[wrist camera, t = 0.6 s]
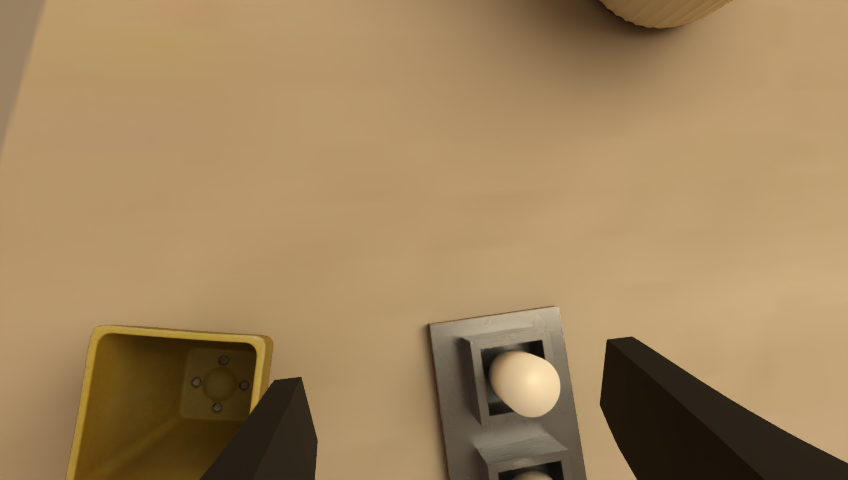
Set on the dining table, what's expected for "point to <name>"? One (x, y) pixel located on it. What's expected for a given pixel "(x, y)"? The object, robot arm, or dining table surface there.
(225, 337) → the flower pot
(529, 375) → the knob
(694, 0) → the canister
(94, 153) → the dining table surface
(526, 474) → the knob middle
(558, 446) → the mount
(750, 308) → the dining table surface
